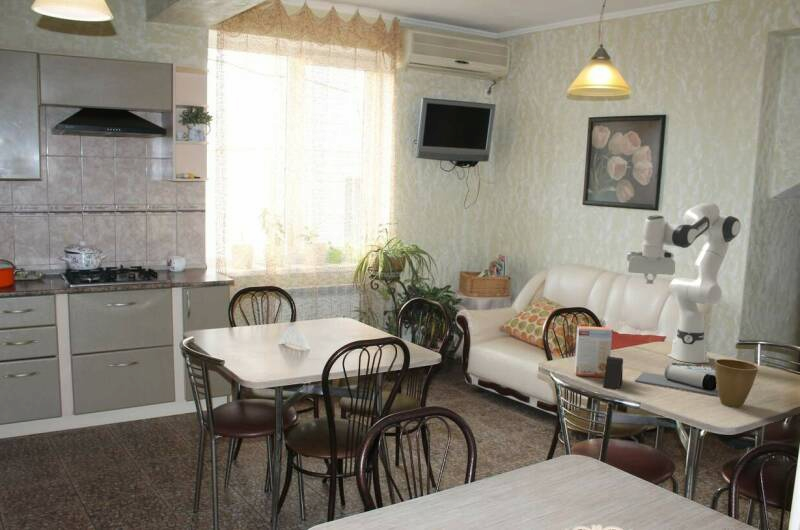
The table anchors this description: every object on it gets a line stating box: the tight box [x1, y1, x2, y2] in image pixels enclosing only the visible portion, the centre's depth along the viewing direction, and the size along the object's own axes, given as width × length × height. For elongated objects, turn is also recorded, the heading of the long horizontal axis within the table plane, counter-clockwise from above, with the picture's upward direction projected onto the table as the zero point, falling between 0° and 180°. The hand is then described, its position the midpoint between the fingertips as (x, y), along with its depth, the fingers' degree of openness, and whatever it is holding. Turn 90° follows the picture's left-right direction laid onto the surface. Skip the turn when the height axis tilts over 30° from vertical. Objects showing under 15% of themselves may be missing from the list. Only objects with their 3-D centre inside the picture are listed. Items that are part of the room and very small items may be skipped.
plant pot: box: [714, 358, 759, 408], centre depth 268 cm, size 15×15×16 cm
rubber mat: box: [635, 371, 719, 397], centre depth 294 cm, size 16×32×1 cm, turn 59°
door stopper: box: [602, 355, 624, 390], centre depth 286 cm, size 9×6×12 cm, turn 152°
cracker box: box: [573, 325, 613, 378], centre depth 301 cm, size 14×6×21 cm, turn 84°
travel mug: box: [663, 364, 717, 390], centre depth 291 cm, size 6×7×20 cm
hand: (649, 283), depth 310 cm, fingers closed
